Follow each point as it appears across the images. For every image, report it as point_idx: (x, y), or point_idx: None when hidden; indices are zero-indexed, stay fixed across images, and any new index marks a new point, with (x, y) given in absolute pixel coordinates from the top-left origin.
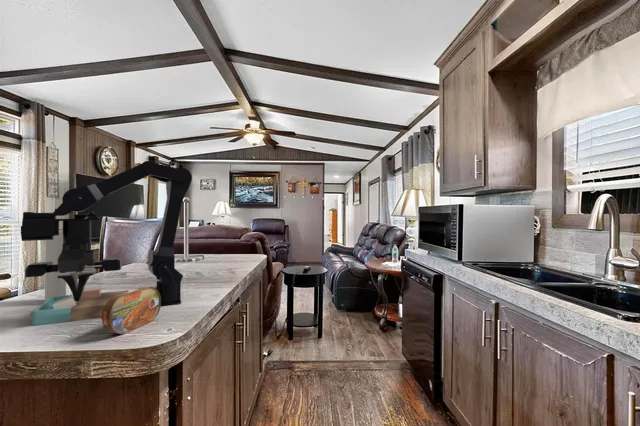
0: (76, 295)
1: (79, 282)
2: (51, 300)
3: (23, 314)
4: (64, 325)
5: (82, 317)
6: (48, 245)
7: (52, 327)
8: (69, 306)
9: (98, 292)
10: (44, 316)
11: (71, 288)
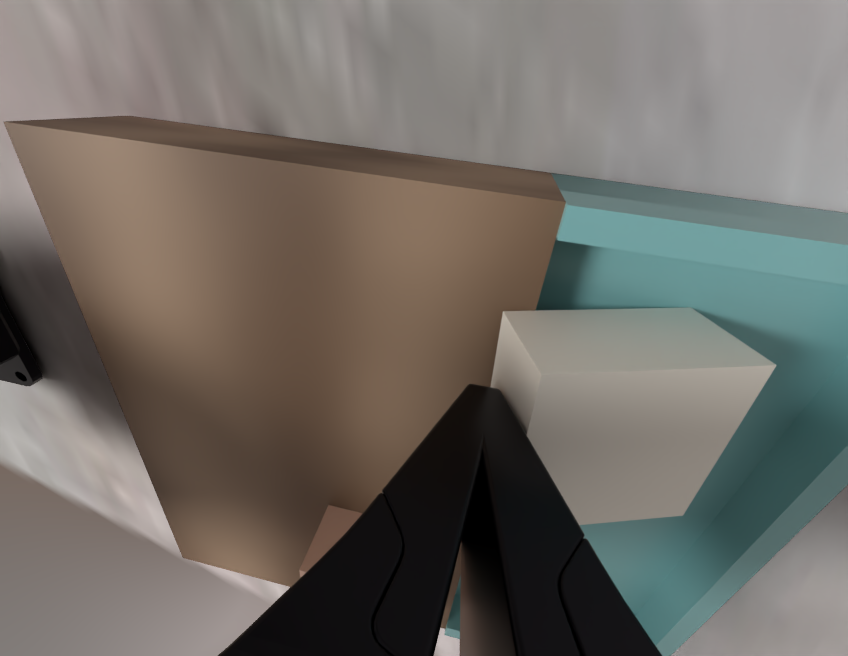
0: (489, 432)
1: (402, 647)
2: (649, 631)
3: (787, 577)
4: (620, 20)
5: (448, 160)
6: None
7: (745, 3)
8: (567, 315)
9: (317, 548)
10: (833, 226)
11: (573, 548)
